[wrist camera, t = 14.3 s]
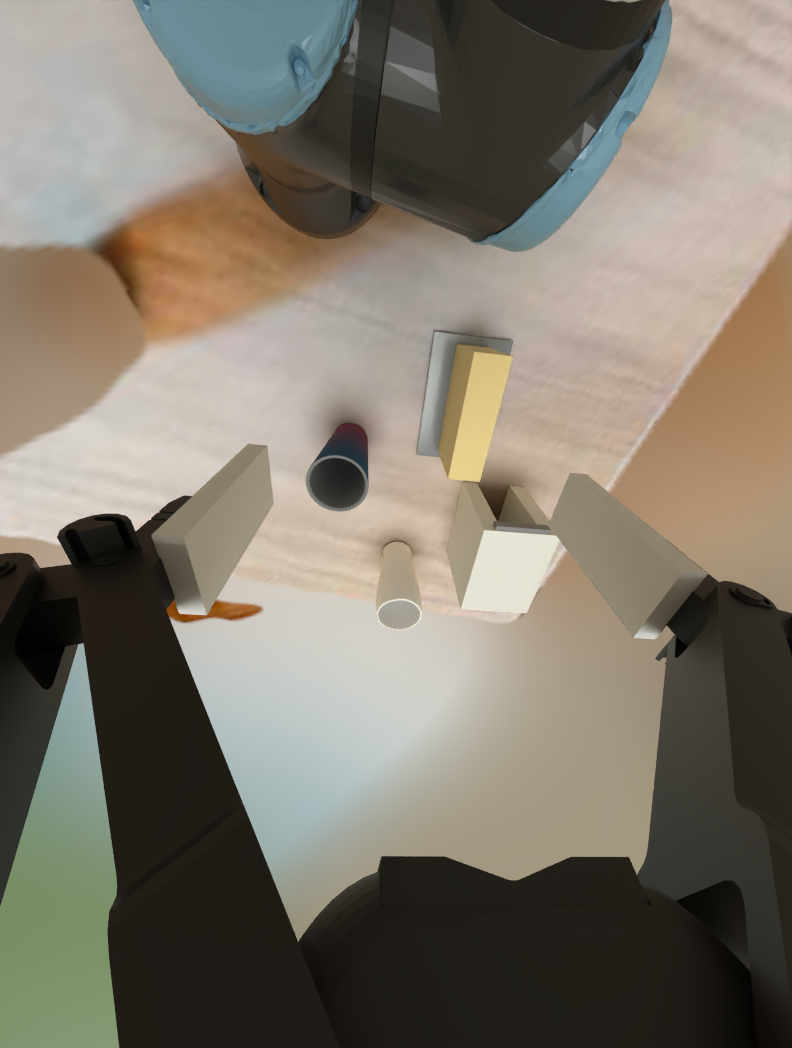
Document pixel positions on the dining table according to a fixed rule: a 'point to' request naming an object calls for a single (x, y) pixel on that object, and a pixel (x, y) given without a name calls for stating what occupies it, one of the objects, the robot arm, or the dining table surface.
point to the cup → (340, 470)
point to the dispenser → (499, 550)
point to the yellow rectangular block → (472, 410)
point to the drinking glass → (398, 589)
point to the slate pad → (445, 384)
